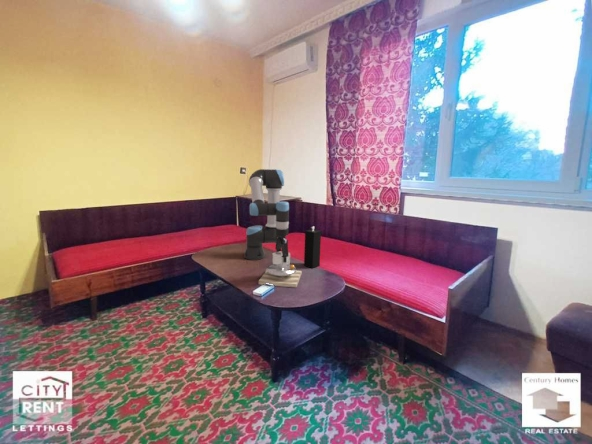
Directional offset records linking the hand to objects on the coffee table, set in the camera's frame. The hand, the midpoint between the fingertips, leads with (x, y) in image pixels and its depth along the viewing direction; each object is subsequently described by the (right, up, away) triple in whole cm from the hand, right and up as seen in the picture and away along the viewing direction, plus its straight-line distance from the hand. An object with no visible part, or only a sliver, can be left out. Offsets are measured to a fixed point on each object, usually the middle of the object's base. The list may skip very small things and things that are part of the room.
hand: (281, 264), depth 175 cm
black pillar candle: (+20, -5, +27) cm, 34 cm away
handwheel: (0, -4, +1) cm, 4 cm away
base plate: (0, -9, +2) cm, 9 cm away
